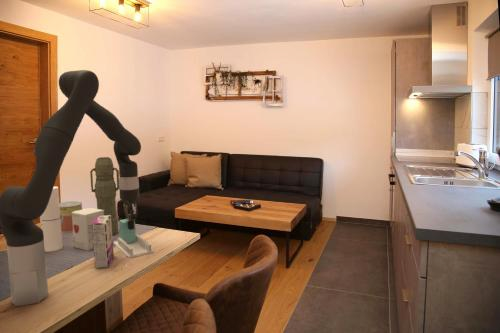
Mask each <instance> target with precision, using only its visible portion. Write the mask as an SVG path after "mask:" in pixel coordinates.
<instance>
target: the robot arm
mask: <svg viewBox="0 0 500 333" xmlns="http://www.w3.org/2000/svg"><path fill="white" fill-rule="evenodd" d="M58 87H59V90H60V92H61V93H62V94H63V95H64V96H65V97H66V99H67V100H66V102H65V103H64V105H62V106H61V107H60V108H59V109H58V110H57V111H56V112H55V113H53V114H52V115H51V116H50V117H49V118H48V119H47V120H46V121H45V123H44V124H43V125H42V128H41V129H40V130H39V133H38V136H37V137H36V139H35V142H34V158H35V167H34V172H33V173H32V175H31V178H30V180H29V182H28V184H27V185H26V186H18V185H15V186H13V185H12V186H9V187H8V188H5V189H4V190H3V191H2V192H1V194H0V227H1V228H0V229H1V234H2V236H3V238H4V239H5V243H6V252H7V262H8V263H7V264H8V275H9V284H10V285H9V286H10V294H11V296H10V297H11V303H12V304H14V307H19V306H20V307H21V306H26V305H34V304H38V303H39V304H40V302H41V301H42V300H45V299H46V298H47V297H48V295H49V287H48V286H49V285H48V276H47V275H48V273H47V263H46V261H47V260H46V251H45V247H44V234H43V230H42V229H41V227H40V226H38V225H37V224H36V223H35V222H34V220H37V219H40V216H41V215H42V214H43V213H44V211H45V210H46V208H47V205H48V203H49V200H50V197H51V193H52V190H53V187H54V186H55V183H56V180H57V178H58V175H59V174H60V173H59V172H60V171H61V167H62V166H63V163H64V160H65V159H66V156H67V154H68V152H69V150H70V148H71V146H72V144H73V141H74V139H75V136H76V134H77V131H78V129H79V127H80V126H81V123H82V121H83V119H84V118H85V115H86V116H87V117H88V118H90V119H91V120H92V121H93V122H94V124H96V126H98V128H99V129H100V130H101V131H102V132H103V133H104V134H105V136H106V137H107V138H108V139H109V140H110V141H112V142H114V143H113V152H114V157H115V158H116V159H115V160H116V162H117V164H118V171H119V189H118V190H119V199H120V200H121V201H124V203H123V204H122V208H123V214H124V216H125V219H127V220H128V229H129V230H132V229H134V221H135V220H137V218H138V214H139V209H138V208H137V203H136V200H138V199H139V198H140V182H139V174H138V163H137V162H136V161H133V160H131V159H130V156H133V157H135V156H137V155H139V154H140V153H141V151H142V145H141V142H140V139H139V138H138V137H137V136H136V135H134V134H133V133H132V132H131V131H130V130H128V129H127V128H125V127H124V125H123V124H122V123H121V122H120V120H119V118H118V117H117V116H116V115H114V113H113V112H111V111H110V110H108V109H106V108H105V107H104V106H102V105H101V104H99V103H98V102H97V101H95V98H96V97H97V95H98V92H99V87H100V82H99V78H98V75H97V74H96V73H95V72H93V71H91V70H88V69H86V70H85V69H80V70H79V69H78V70H69V71H65V72H63V73H62V74H61V75H60V76H59V79H58Z"/></svg>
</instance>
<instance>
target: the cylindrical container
mask: <svg viewBox="0 0 500 333" xmlns="http://www.w3.org/2000/svg"><path fill="white" fill-rule="evenodd" d="M59 203H60V195H59V187H58V186H55V185H54V187H53V190H52V193H51V197H50V200H49V203H48V205H47V208H46V210H45V211H44V213H43V214H42V215H41V216H40V217H39V221H40V222H39V223H40V228H41V229H42V230H43V234H44V247H45V253H47V252H48V253H49V252H56V251H60V250H62V249H63V237H62V236H63V235H62V234H63V232H61V220H60V205H59Z"/></svg>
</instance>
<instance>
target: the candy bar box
mask: <svg viewBox="0 0 500 333" xmlns="http://www.w3.org/2000/svg"><path fill="white" fill-rule="evenodd" d="M92 232H93V245H94V249H93V254H94V255H93V257H94V258H93V259H94V269H104V268H107V269H108V268H109V267H110V266H111V263H112V261H113V259H114V256H115V255H114V244H113V242H114V241H113V240H114V239H113V237H114V236H112V223H111V215H103V216H102V215H101V216H98V217H97V218H96V220H95V221H94V222H93V224H92Z"/></svg>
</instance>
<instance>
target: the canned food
mask: <svg viewBox="0 0 500 333" xmlns="http://www.w3.org/2000/svg"><path fill="white" fill-rule="evenodd" d="M82 204H83V203H82V201H74V200H73V201H65V202H64V201H63V202H59V205H60V220H61V233H73V225H72V212H74V211H78V210H82V209H83V205H82Z"/></svg>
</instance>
